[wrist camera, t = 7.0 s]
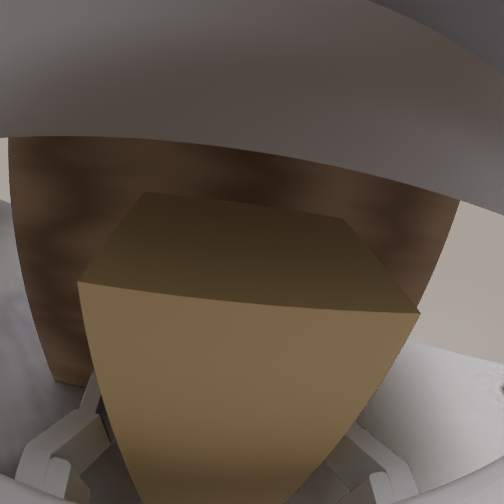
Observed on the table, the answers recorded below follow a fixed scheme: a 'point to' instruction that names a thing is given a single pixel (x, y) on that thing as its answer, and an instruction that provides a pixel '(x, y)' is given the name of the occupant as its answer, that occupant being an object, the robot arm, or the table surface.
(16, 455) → the table surface
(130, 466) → the tall wooden pillar block
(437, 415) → the table surface
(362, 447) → the robot arm
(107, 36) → the wooden block with ledge
